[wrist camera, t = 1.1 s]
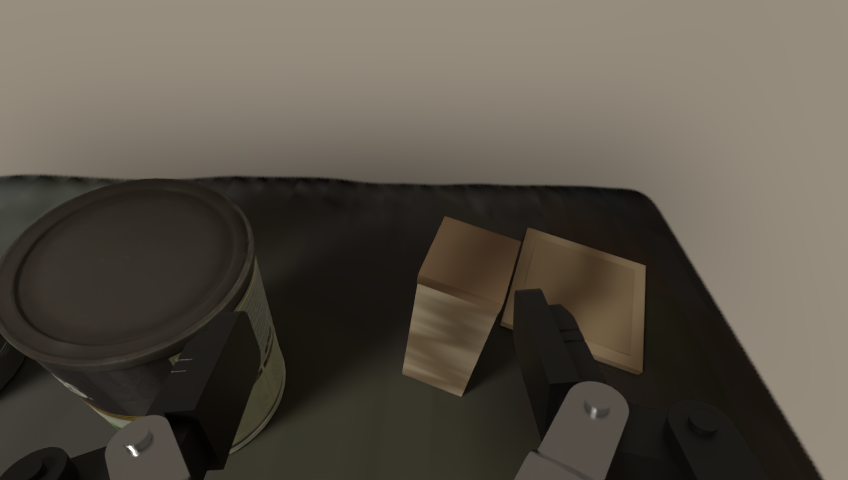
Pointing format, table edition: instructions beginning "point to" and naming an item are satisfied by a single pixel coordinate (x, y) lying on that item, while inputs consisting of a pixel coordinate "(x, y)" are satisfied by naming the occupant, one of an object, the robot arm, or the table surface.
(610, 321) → the cork coaster
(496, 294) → the wooden box with lid
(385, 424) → the table surface
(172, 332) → the coffee can
